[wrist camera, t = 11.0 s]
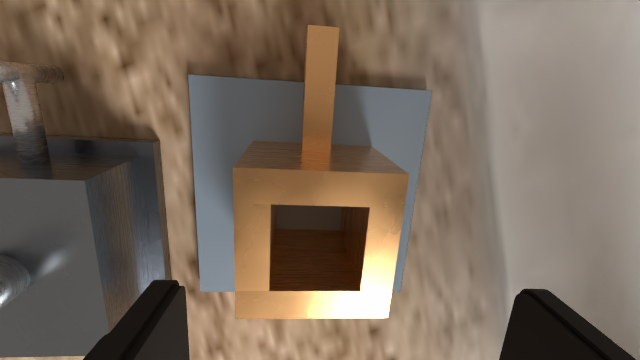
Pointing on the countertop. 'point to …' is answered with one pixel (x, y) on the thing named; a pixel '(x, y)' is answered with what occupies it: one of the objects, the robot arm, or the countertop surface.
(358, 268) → the wooden hollow block
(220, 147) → the rubber pad
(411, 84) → the countertop surface
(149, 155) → the grey block
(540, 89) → the countertop surface
